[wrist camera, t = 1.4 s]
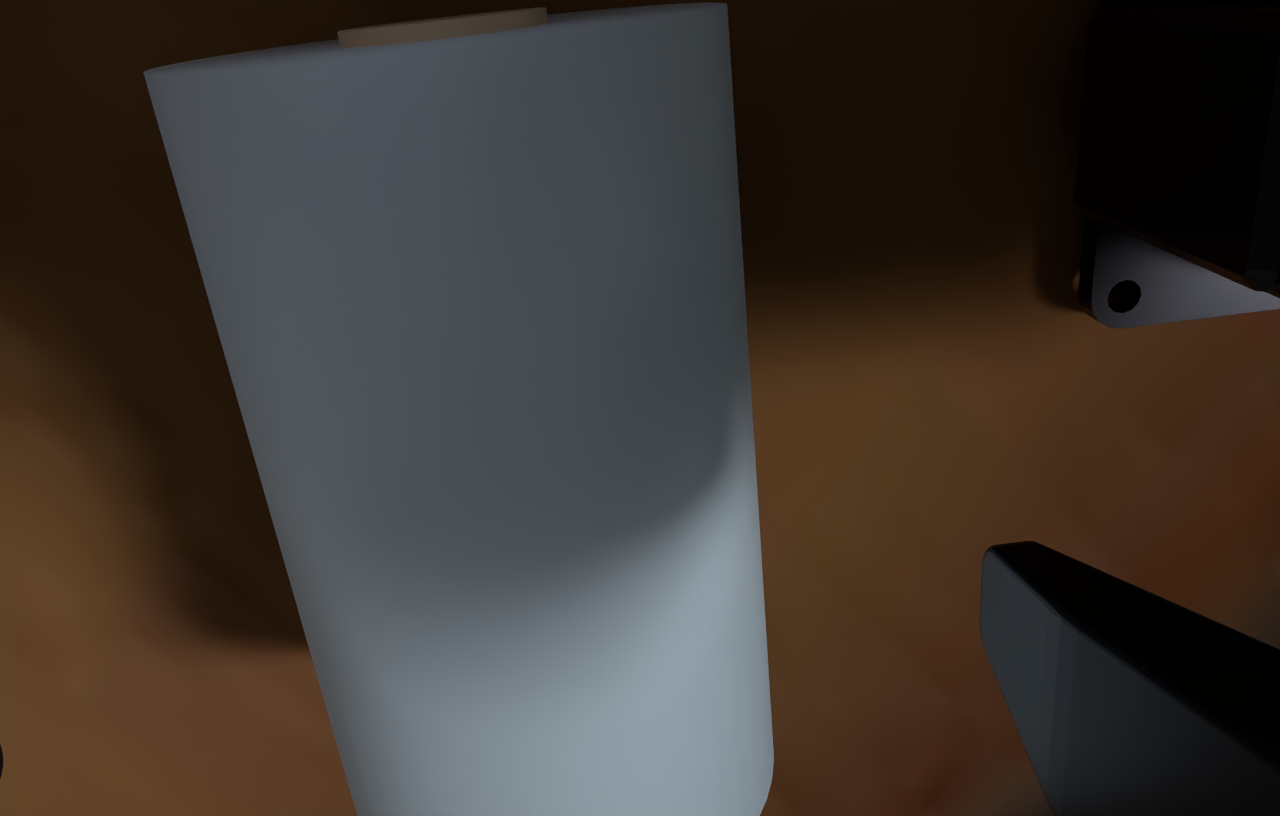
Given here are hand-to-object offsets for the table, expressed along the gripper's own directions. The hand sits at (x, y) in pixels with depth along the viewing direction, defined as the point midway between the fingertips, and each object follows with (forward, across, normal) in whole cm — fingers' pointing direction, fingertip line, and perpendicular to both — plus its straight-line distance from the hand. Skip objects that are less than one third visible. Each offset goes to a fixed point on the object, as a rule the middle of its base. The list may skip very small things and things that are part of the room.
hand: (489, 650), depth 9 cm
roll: (+7, 0, 0) cm, 7 cm away
